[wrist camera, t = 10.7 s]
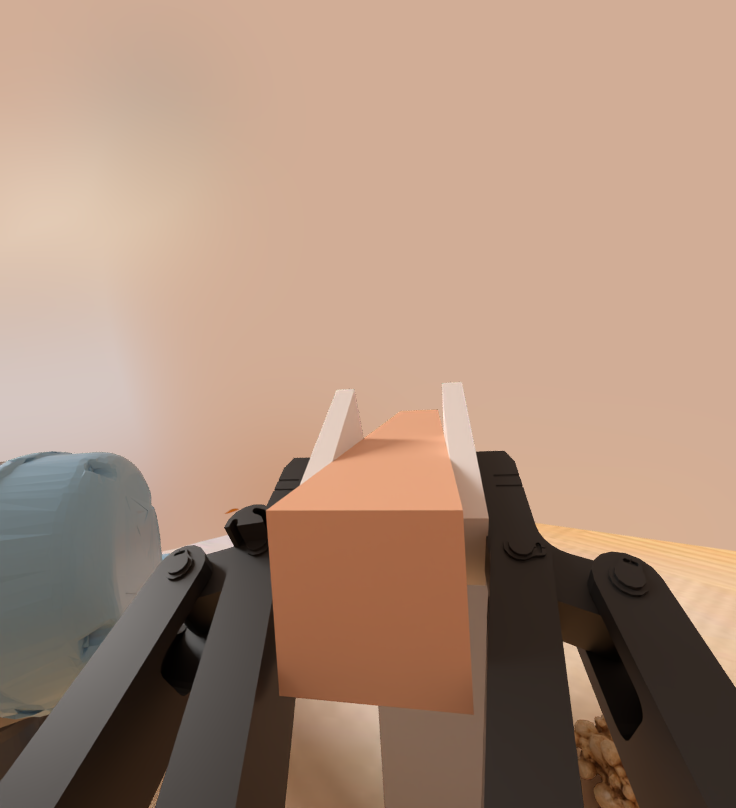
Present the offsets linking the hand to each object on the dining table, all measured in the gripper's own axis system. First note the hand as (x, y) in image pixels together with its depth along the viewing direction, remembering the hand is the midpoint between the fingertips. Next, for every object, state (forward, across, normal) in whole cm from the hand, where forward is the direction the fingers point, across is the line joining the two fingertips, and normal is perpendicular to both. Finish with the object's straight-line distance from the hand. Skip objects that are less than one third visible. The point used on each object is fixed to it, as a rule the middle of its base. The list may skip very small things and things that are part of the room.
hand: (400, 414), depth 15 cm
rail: (+2, 0, -6) cm, 7 cm away
